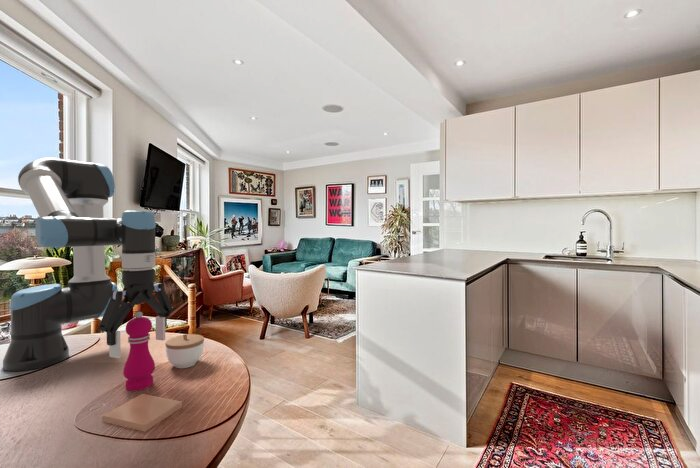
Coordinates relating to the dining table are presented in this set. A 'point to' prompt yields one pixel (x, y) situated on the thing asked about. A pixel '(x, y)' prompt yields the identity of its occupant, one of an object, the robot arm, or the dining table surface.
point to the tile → (142, 412)
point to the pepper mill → (139, 354)
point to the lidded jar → (184, 350)
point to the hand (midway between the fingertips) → (139, 347)
